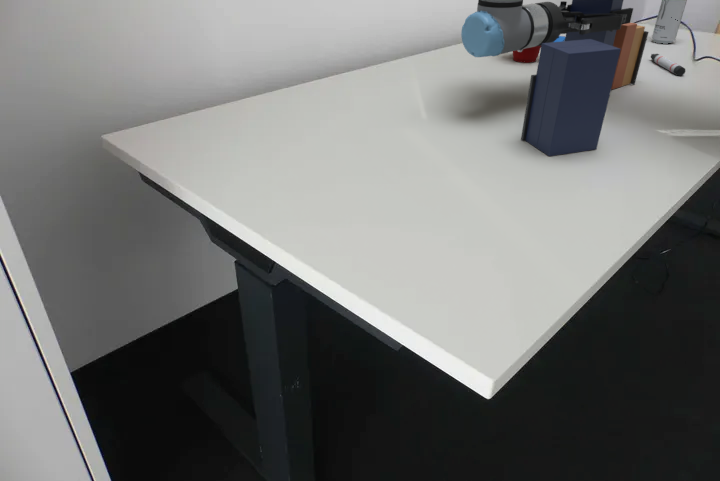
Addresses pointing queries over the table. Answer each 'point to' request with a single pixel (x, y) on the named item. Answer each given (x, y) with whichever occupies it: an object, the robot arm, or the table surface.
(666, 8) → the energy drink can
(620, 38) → the terracotta books
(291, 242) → the table surface
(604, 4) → the navy book
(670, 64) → the marker
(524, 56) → the plastic cup
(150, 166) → the table surface
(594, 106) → the navy books
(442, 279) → the table surface
